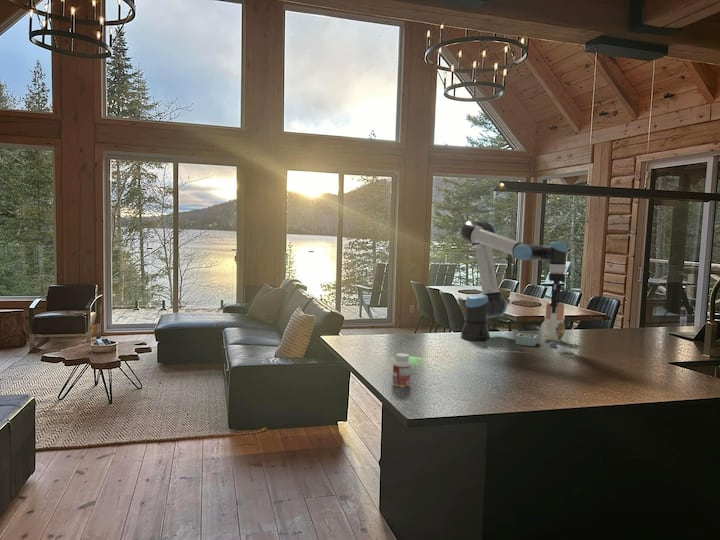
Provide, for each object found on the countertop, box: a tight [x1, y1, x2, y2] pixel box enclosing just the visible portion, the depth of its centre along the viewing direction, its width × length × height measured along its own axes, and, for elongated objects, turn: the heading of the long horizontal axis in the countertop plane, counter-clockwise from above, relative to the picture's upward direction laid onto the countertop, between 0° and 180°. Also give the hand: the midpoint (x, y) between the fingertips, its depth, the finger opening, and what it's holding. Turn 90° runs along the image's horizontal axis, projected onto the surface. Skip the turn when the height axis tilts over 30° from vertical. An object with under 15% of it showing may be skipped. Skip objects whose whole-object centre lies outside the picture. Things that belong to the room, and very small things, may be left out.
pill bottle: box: [392, 352, 411, 387], centre depth 187 cm, size 6×6×11 cm
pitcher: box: [540, 314, 566, 342], centre depth 282 cm, size 11×18×14 cm, turn 122°
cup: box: [545, 301, 565, 320], centre depth 262 cm, size 8×8×8 cm
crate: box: [515, 332, 538, 347], centre depth 269 cm, size 9×9×5 cm
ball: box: [549, 341, 557, 349], centre depth 263 cm, size 3×3×3 cm
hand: (554, 318), depth 262 cm, fingers closed on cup, 8 cm apart
